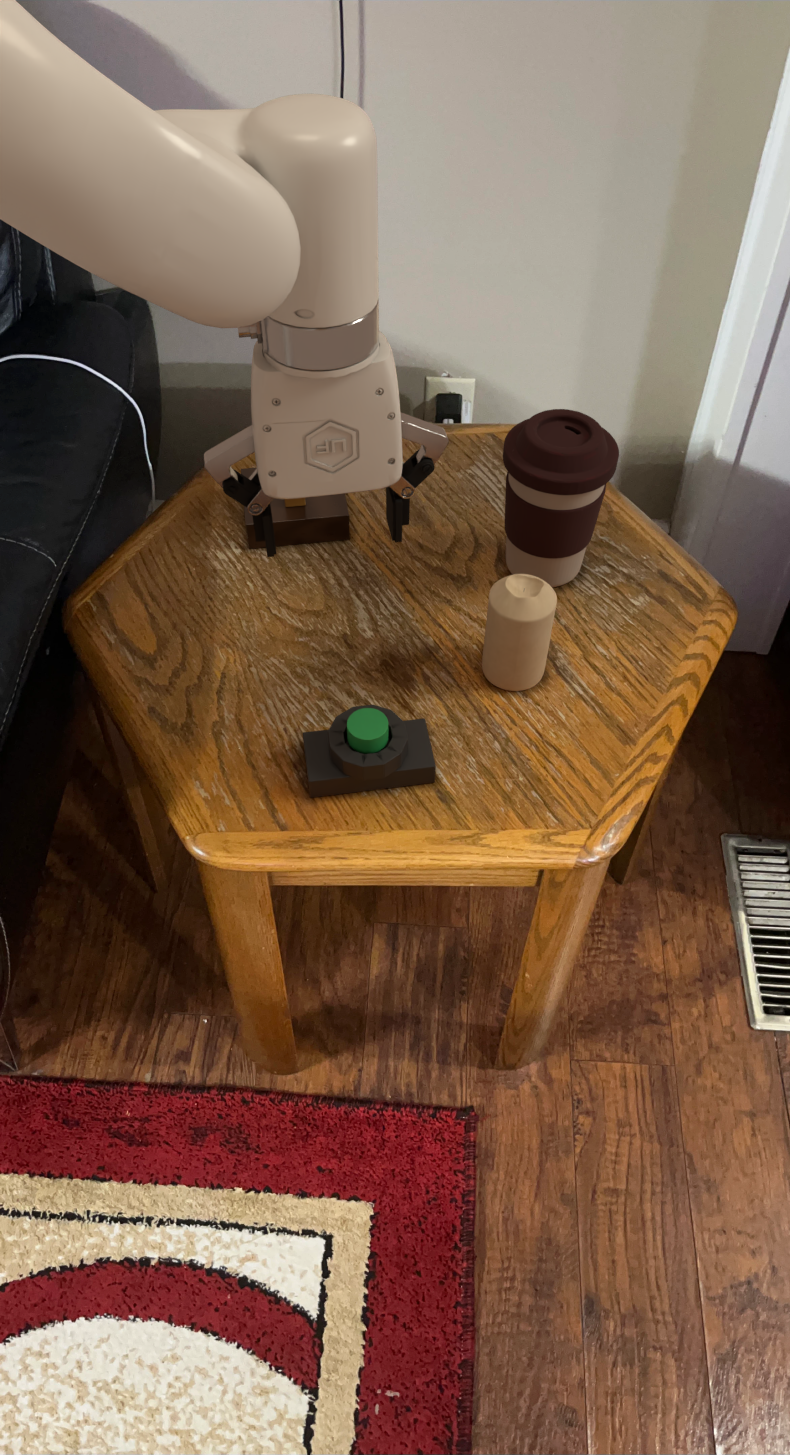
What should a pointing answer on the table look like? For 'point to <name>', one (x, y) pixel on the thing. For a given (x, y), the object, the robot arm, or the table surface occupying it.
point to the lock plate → (303, 520)
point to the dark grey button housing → (368, 757)
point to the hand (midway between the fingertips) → (332, 537)
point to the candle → (518, 631)
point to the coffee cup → (554, 491)
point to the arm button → (367, 730)
